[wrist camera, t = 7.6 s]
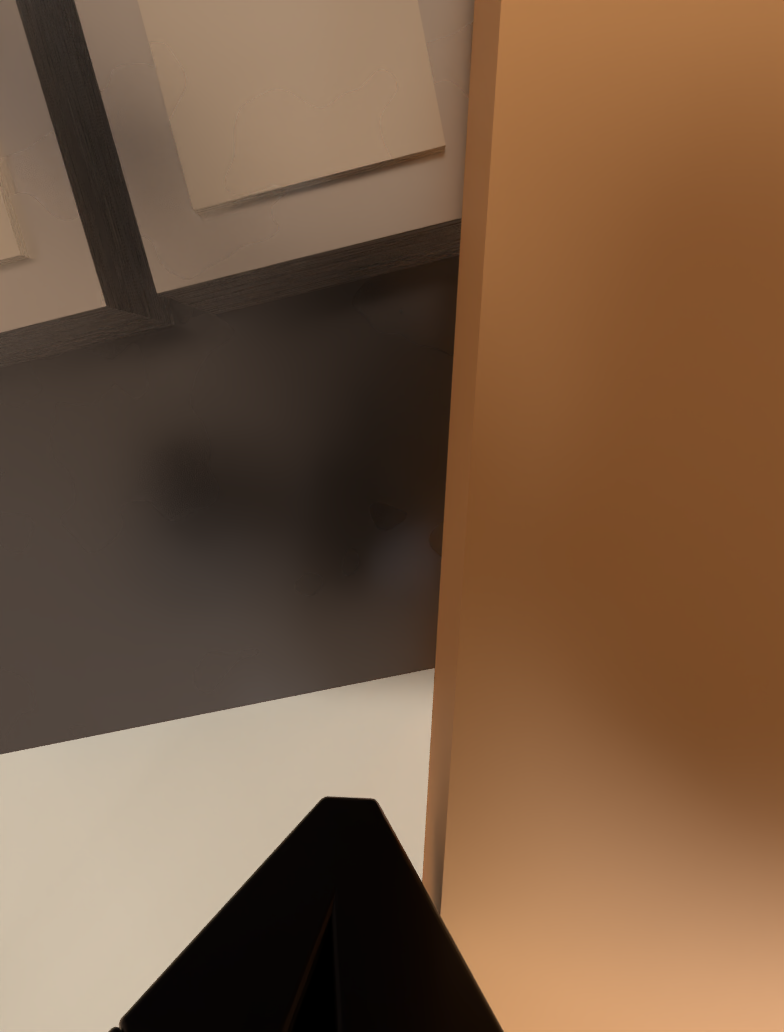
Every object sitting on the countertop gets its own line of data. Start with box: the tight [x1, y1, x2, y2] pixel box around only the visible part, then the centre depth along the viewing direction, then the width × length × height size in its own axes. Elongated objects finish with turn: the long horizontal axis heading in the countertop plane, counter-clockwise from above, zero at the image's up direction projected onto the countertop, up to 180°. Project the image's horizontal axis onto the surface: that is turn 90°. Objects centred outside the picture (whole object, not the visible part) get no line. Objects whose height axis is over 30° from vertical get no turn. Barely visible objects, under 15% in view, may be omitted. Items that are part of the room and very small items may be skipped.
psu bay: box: [0, 0, 475, 754], centre depth 9 cm, size 16×20×4 cm
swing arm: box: [422, 0, 784, 1032], centre depth 6 cm, size 16×4×3 cm, turn 178°
